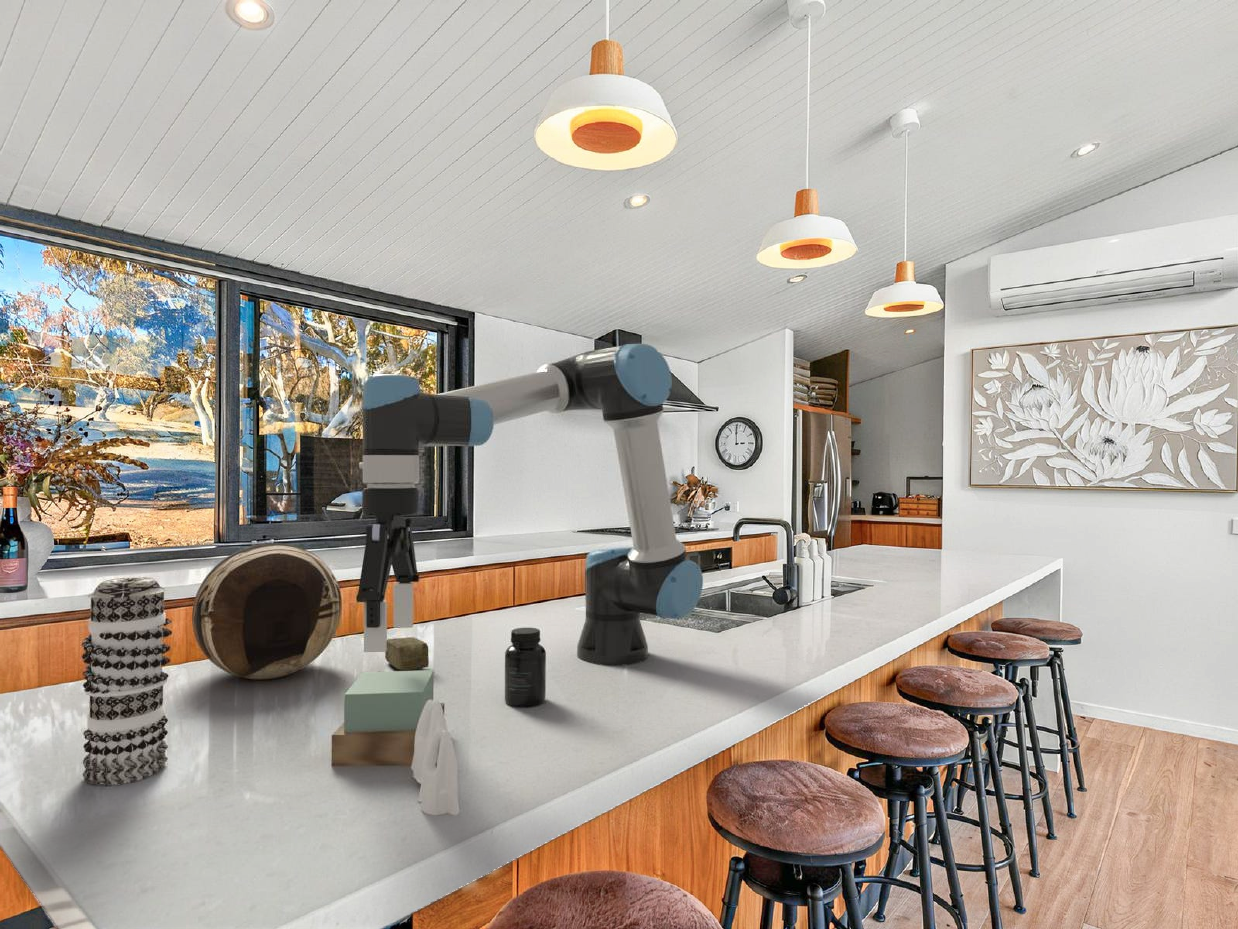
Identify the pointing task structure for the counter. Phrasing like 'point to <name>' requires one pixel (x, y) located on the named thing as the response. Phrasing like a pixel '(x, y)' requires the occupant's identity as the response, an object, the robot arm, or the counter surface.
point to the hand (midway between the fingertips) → (390, 638)
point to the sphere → (266, 611)
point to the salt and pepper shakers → (435, 762)
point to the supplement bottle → (525, 669)
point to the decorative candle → (125, 681)
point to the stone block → (407, 653)
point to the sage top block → (387, 700)
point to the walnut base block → (373, 748)
